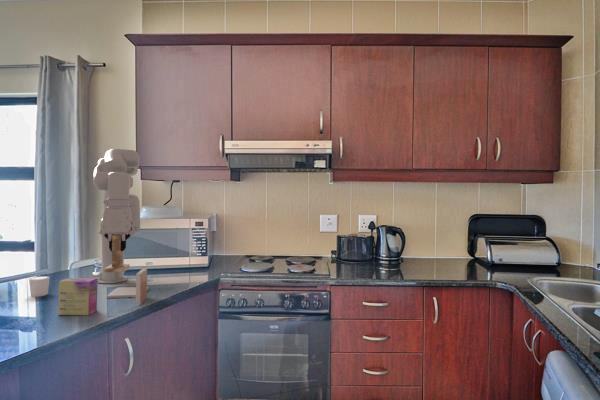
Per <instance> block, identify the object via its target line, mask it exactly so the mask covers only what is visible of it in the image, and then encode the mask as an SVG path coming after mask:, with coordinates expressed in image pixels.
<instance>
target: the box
mask: <svg viewBox="0 0 600 400" xmlns="http://www.w3.org/2000/svg"><path fill="white" fill-rule="evenodd" d="M98 279H99V277H93V278H92V277H91V278H88V277H87V278H86V277H85V278H84V277H82V278H80V277H67V278H64V279H61V280H59V281H58V305H57V306H58V307H57V308H58V309H57V315H58V316H86V315H87V316H89V315H92V314H93V313H95V312H97V310H98V283H99V282H98Z"/></svg>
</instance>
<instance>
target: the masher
mask: <svg viewBox="0 0 600 400" xmlns="http://www.w3.org/2000/svg"><path fill="white" fill-rule="evenodd" d="M121 241H122V234H114V235H112V265H109V266H107V267H106V268H104V272H124V273H125V272H126V271H127V270H129V269H130V264H129V263H127V264H123V251H120V249H121Z"/></svg>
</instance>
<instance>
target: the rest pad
mask: <svg viewBox="0 0 600 400" xmlns="http://www.w3.org/2000/svg"><path fill="white" fill-rule="evenodd" d="M149 288H150V287H149V286H147V291H148V290H149ZM128 297H132V298H136V286H130V287H129V286H126V287H124V286H122V287H121V286H120V287H116V288H115V289H114V290H112V291H111V292H110V293H108V294H107V295H106V299H123V298H124V299H125V298H128Z"/></svg>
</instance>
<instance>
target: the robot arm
mask: <svg viewBox="0 0 600 400" xmlns="http://www.w3.org/2000/svg"><path fill="white" fill-rule="evenodd" d="M140 162H141V158H140V154H139V153H138V152H137V151H136V150H133V149H123V148H111V149H109V150H107V151H106V152H105V154H104V157H103V158H101V157H100V159H99V160H97V165H96V167H94V170H93V176H92V179H93V180H92V183H93V186H94V188H95V189H96V190H98V191H103V201H102V202H103V213H102V218H101V219H100V222H99V228H100V229H99V232H98V233H99V235H101V269H100V270H101V271H100V272H92V274H91V278H92V277H93V278H98V283H99V284H117V283H122V282H123V283H124V282H125V281H127V280H128V277H127V276H126V275H124V274H125V272H104V268H106V267H107V266H109V265H112V235H114V234H122V241H121V249H120V251H123V264H124V263H125V262H124V261H125V257H124V256H125V249H127V240H128V239H129V238H130V237H132V236H134V235H137V234H139V233H140V230H141V206H140V199H139V197H138V196H137V195H136V194H132V193H130V190H131V189H132V187H133V185H134V178H133V177H134V176H136V175H137V173H138V170H139V168H140V167H139V166H140Z"/></svg>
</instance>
